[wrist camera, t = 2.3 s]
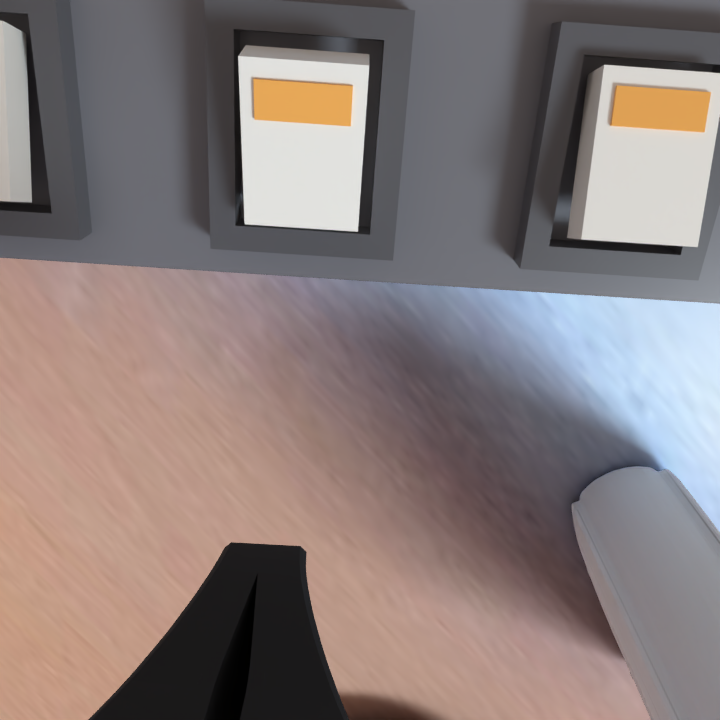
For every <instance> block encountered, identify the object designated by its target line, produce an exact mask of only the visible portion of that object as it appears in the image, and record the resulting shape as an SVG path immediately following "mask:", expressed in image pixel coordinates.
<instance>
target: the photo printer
mask: <svg viewBox="0 0 720 720" xmlns="http://www.w3.org/2000/svg"><path fill="white" fill-rule="evenodd" d="M571 508H572V516H573V523H574V528H575V533H576V537H577V541H578V544H579V547H580V550H581V554H582V556H583V559H584V562H585V564H586V567H587V572H588V574H589V575H590V578H591V581H592V583H593V586H594V588H595V591H596V594H597V596H598V599H599V601H600V604H601V606H602V608H603V611H604V613H605V616H606V618H607V620H608V623H609V625H610V628H611V630H612V632H613V635H614V637H615V639H616V641H617V644H618V646H619V648H620V651H621V653H622V655H623V657H624V659H625V662H626V664H627V666H628V668H629V671H630V674H631V677H632V679H633V680H634V682H635V684H636V686H637V689H638V691H639V693H640V695H641V698H642V700H643V702H644V704H645V707H646V709H647V711H648V713H649V716H650V718H651V720H720V532H719V531H718V529H717V528H716V527H715V525H714V524H713V523H712V521H711V520H710V519H709V517H708V516H707V515H706V514H705V512H704V511H703V510H702V508H701V507H700V506H699V504H698V503H697V502H696V500H695V499H694V498H693V496H692V495H691V494H690V493H689V491H688V490H687V489H686V488H685V486H684V485H683V484H682V482H681V481H680V480H679V479H678V478H677V477H676V476H675V475H674V474H673V473H672V472H671V471H670V470H668V469H664V470H661V471H656V470H654V469H653V468H650V467H642V466H634V467H626V468H621V469H617V470H614V471H612V472H609V473H607V474H604V475H603V476H601V477H599V478H597V479H596V480H594V481H593V482H592V483H591V484H589V485H588V486H587V487H586V488H585V489H584V490H583V491H582V493H581V495H580V500H579V501H577V502H574V503H572V507H571Z"/></svg>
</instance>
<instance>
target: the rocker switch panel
mask: <svg viewBox="0 0 720 720" xmlns="http://www.w3.org/2000/svg"><path fill="white" fill-rule="evenodd" d="M0 21H4V22H6V23H8V24H10V25H12V26H13V27H15V28H17V29H19V30H21V31H22V32H24V33H26V48H27V76H28V104H29V132H30V161H31V189H32V202H8V201H0V258H16V259H31V260H47V261H62V262H78V263H94V264H109V265H125V266H141V267H156V268H172V269H187V270H203V271H219V272H234V273H250V274H266V275H281V276H297V277H313V278H328V279H344V280H359V281H375V282H391V283H406V284H422V285H438V286H453V287H469V288H484V289H500V290H516V291H531V292H547V293H563V294H578V295H594V296H609V297H625V298H641V299H656V300H672V301H688V302H703V303H719V304H720V117H719V123H718V129H717V135H716V141H715V147H714V153H713V159H712V165H711V171H710V177H709V183H708V189H707V195H706V201H705V207H704V213H703V219H702V225H701V231H700V237H699V243H698V247H688V246H673V245H658V244H642V243H627V242H612V241H597V240H582V239H573V238H567V235H568V227H569V219H570V211H571V203H572V195H573V187H574V180H575V172H576V164H577V156H578V148H579V140H580V132H581V124H582V117H583V109H584V101H585V93H586V85H587V77H588V74H589V73H591V72H593V71H594V70H596V69H598V68H600V67H601V66H603V65H615V66H629V67H642V68H656V69H670V70H683V71H697V72H711V73H720V0H0ZM246 45H250V46H264V47H277V48H291V49H305V50H319V51H332V52H346V53H360V54H369V78H368V92H367V107H366V121H365V136H364V150H363V165H362V180H361V194H360V209H359V223H358V232H355V231H340V230H324V229H309V228H294V227H279V226H264V225H248V224H245V222H244V196H243V170H242V144H241V118H240V92H239V66H238V55H239V54H240V53H241V51H242V50H243V48H244V47H245V46H246Z"/></svg>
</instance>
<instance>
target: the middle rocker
mask: <svg viewBox="0 0 720 720" xmlns="http://www.w3.org/2000/svg"><path fill="white" fill-rule="evenodd" d="M238 66H239V92H240V118H241V144H242V170H243V196H244V222H245V224H248V225H264V226H279V227H294V228H309V229H324V230H340V231H355V232H358V223H359V209H360V194H361V180H362V165H363V150H364V136H365V121H366V107H367V92H368V78H369V54H360V53H346V52H332V51H319V50H305V49H291V48H277V47H264V46H250V45H246V46H245V47H244V48H243V50H242V51H241V53H240V54H239V55H238Z"/></svg>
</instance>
